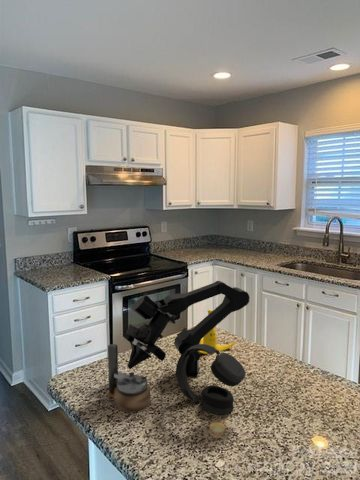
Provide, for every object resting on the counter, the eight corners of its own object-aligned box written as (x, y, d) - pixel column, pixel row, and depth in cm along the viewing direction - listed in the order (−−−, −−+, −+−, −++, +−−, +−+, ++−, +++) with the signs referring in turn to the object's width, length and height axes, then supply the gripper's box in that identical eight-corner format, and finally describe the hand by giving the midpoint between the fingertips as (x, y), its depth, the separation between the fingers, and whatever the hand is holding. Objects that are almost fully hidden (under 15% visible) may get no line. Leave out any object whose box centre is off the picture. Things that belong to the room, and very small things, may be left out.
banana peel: (236, 349, 151) (237, 310, 149) (196, 358, 143) (196, 317, 141) (216, 336, 166) (216, 300, 164) (178, 343, 158) (178, 306, 156)
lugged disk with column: (153, 396, 113) (152, 349, 112) (134, 409, 106) (133, 360, 104) (120, 383, 121) (119, 340, 120) (100, 395, 114) (98, 349, 112)
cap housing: (154, 394, 117) (154, 382, 116) (144, 413, 106) (144, 400, 105) (111, 389, 120) (111, 377, 119) (97, 408, 109) (97, 395, 108)
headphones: (252, 362, 107) (195, 330, 115) (242, 374, 99) (182, 339, 108) (234, 412, 111) (180, 377, 120) (223, 426, 104) (167, 389, 113)
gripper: (126, 308, 128) (99, 347, 122) (157, 321, 113) (127, 366, 108) (145, 325, 134) (120, 362, 128) (177, 339, 119) (150, 382, 113)
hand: (128, 367), depth 119 cm, fingers closed
